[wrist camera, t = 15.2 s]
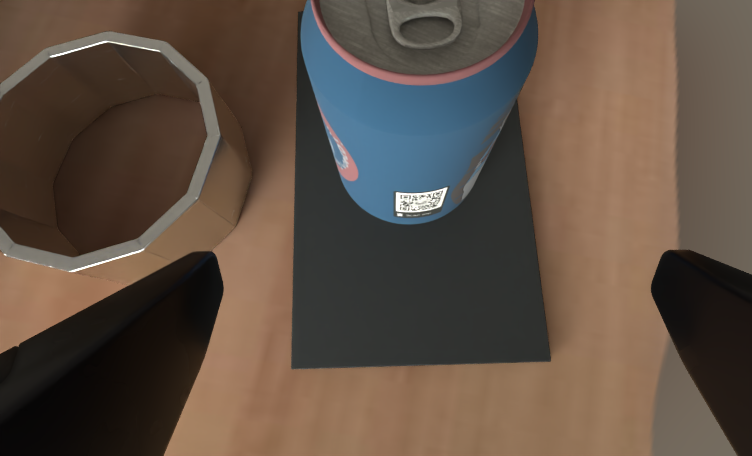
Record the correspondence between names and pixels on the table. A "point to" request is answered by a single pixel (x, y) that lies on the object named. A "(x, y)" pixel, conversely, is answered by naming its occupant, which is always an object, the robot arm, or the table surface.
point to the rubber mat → (412, 265)
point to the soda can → (415, 94)
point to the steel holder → (75, 113)
